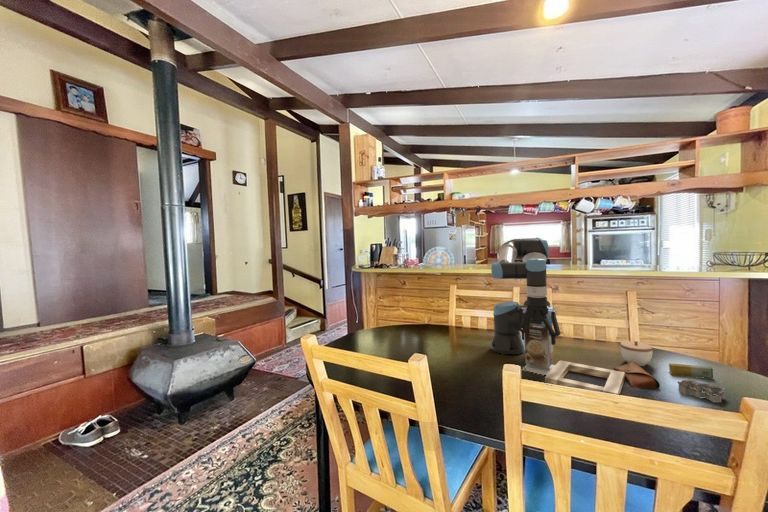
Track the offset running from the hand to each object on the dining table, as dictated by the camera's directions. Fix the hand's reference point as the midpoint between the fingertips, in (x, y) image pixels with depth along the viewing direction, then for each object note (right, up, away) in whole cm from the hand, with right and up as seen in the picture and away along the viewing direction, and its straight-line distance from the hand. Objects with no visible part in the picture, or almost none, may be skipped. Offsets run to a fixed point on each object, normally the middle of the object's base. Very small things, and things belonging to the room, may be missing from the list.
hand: (538, 349), depth 134 cm
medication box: (+51, -6, -13) cm, 53 cm away
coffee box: (0, -6, 0) cm, 6 cm away
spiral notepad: (0, -8, 0) cm, 8 cm away
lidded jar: (+41, -6, +1) cm, 42 cm away
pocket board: (+11, -8, -13) cm, 19 cm away
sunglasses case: (+30, -8, -12) cm, 33 cm away
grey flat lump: (+41, -7, -27) cm, 49 cm away
